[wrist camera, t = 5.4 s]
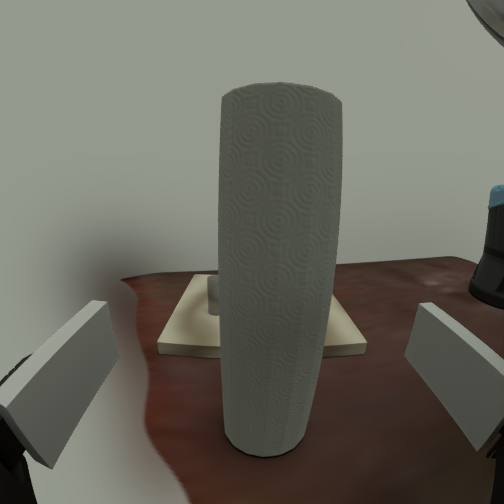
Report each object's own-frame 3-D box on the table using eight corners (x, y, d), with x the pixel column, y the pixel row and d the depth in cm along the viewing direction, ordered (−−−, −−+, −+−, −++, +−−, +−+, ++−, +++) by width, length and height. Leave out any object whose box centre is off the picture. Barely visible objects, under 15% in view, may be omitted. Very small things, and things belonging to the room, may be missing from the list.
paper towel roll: (262, 473, 13) (285, 64, 8) (208, 423, 17) (197, 100, 12) (329, 420, 18) (372, 113, 12) (275, 386, 22) (291, 122, 17)
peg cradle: (318, 284, 48) (321, 252, 46) (364, 353, 26) (375, 304, 25) (195, 282, 47) (193, 249, 46) (159, 353, 26) (151, 302, 25)
